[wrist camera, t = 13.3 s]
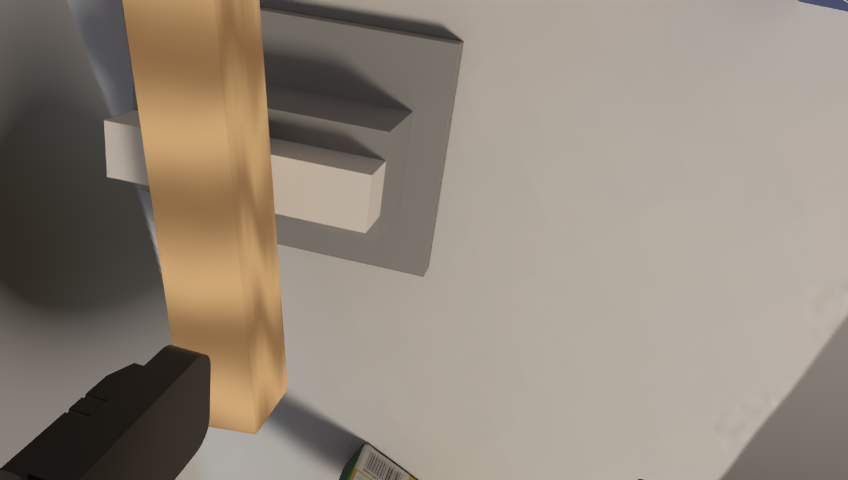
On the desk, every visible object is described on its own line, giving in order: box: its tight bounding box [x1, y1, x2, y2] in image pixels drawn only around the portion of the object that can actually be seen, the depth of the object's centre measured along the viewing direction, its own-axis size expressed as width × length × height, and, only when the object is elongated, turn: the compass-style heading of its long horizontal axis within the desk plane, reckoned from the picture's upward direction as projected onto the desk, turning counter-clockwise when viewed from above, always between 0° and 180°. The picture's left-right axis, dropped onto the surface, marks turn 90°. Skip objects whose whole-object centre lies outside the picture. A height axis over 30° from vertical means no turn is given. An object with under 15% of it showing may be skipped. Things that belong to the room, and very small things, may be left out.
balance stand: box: [104, 7, 464, 277], centre depth 38 cm, size 14×18×9 cm
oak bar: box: [122, 0, 288, 434], centre depth 32 cm, size 24×4×4 cm, turn 179°
